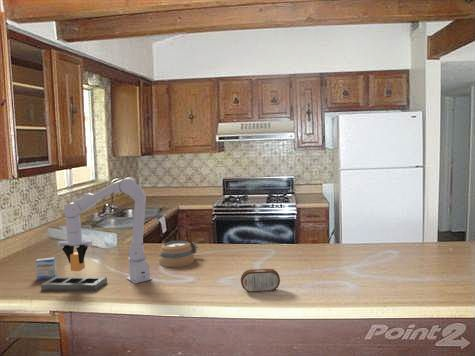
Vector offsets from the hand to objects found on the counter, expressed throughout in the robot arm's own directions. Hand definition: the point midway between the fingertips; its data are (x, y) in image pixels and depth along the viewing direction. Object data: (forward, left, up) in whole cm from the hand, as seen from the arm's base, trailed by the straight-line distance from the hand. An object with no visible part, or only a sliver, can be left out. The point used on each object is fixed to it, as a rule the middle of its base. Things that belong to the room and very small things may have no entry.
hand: (76, 262), depth 173 cm
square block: (0, -1, -3) cm, 3 cm away
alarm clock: (+1, -49, -10) cm, 50 cm away
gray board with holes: (-1, +2, -10) cm, 10 cm away
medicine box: (+21, +8, -10) cm, 24 cm away
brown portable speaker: (-59, -51, -10) cm, 79 cm away
